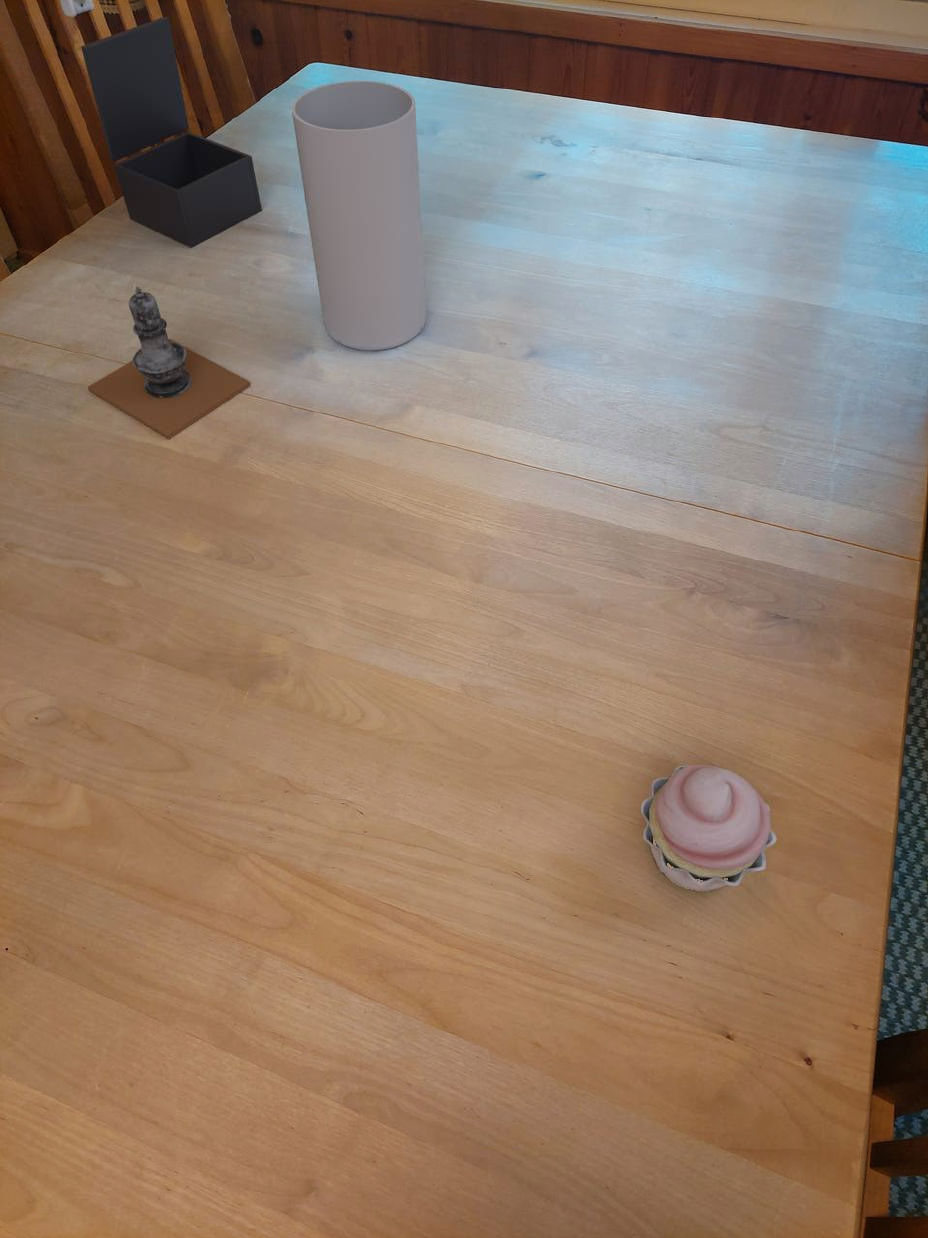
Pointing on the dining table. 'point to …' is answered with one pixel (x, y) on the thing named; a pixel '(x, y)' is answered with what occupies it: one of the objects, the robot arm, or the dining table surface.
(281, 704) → the dining table surface
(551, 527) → the dining table surface
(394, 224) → the cylinder vase
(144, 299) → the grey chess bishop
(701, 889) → the cupcake
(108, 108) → the dark hinged lid
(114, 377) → the cork mat
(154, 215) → the dark open-top box
